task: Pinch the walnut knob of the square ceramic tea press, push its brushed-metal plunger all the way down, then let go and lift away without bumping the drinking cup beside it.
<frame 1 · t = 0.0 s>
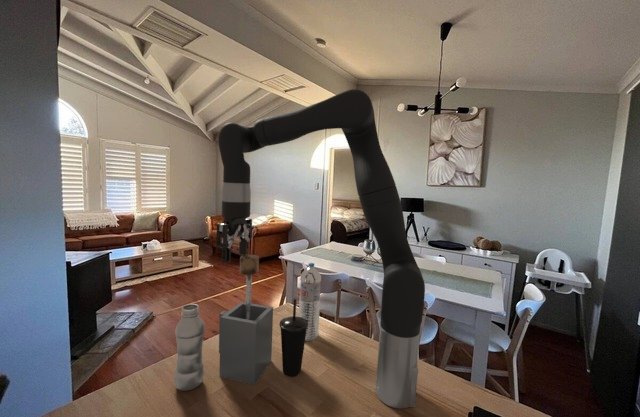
hand: (235, 258, 78), 29 cm above the counter, fingers open, 8 cm apart
plastic bottle: (189, 386, 69), on the counter
plunger: (248, 294, 74), point 21 cm above the counter, slide at 0.0 cm
water bottle: (307, 337, 94), on the counter
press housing: (246, 368, 76), on the counter
drinking cup: (291, 371, 76), on the counter
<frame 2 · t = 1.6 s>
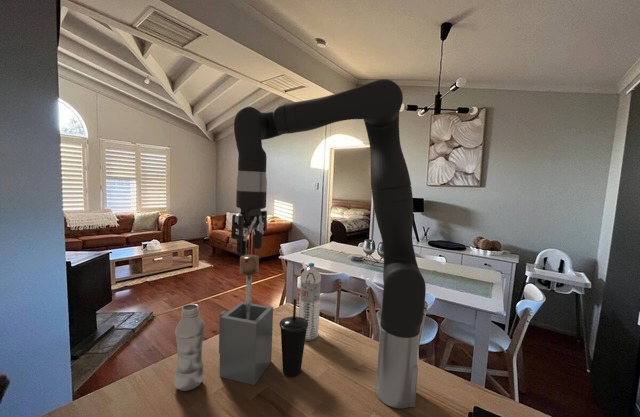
hand: (250, 251, 73), 32 cm above the counter, fingers open, 8 cm apart
nothing on the counter moved.
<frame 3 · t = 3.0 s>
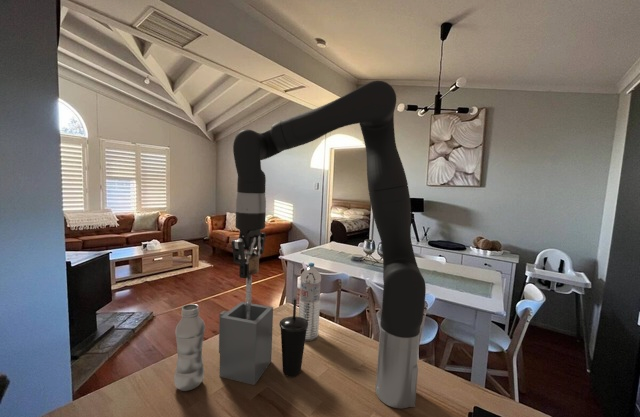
hand: (249, 274, 74), 26 cm above the counter, fingers closed on plunger, 4 cm apart
plunger: (248, 294, 74), point 21 cm above the counter, slide at 0.0 cm, touching gripper
everything else where it was.
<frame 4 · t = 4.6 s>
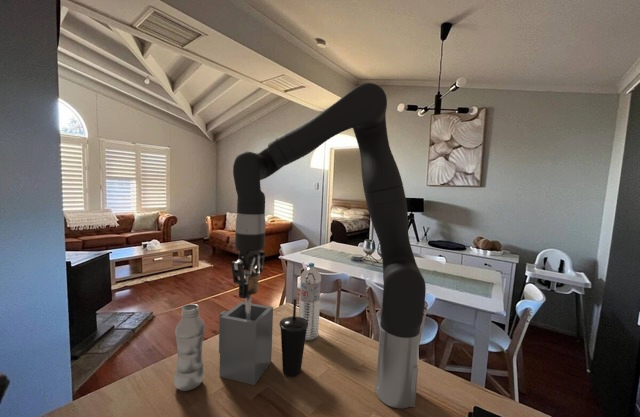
hand: (248, 293, 74), 21 cm above the counter, fingers closed on plunger, 4 cm apart
plunger: (248, 313, 75), point 16 cm above the counter, slide at 5.3 cm, touching gripper
everything else where it was.
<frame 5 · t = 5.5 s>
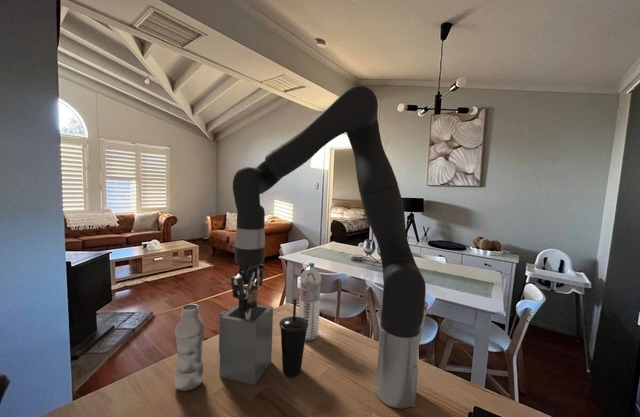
hand: (248, 307, 75), 17 cm above the counter, fingers closed on plunger, 4 cm apart
plunger: (247, 327, 75), point 12 cm above the counter, slide at 9.0 cm, touching gripper
everything else where it was.
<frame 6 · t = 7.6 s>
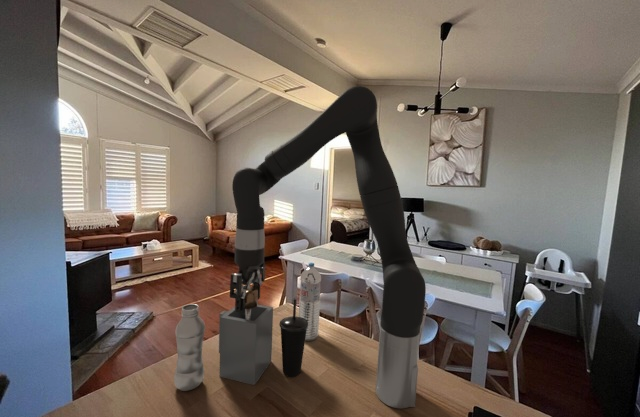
hand: (248, 305, 75), 18 cm above the counter, fingers open, 8 cm apart
plunger: (247, 327, 75), point 12 cm above the counter, slide at 9.1 cm
everything else where it was.
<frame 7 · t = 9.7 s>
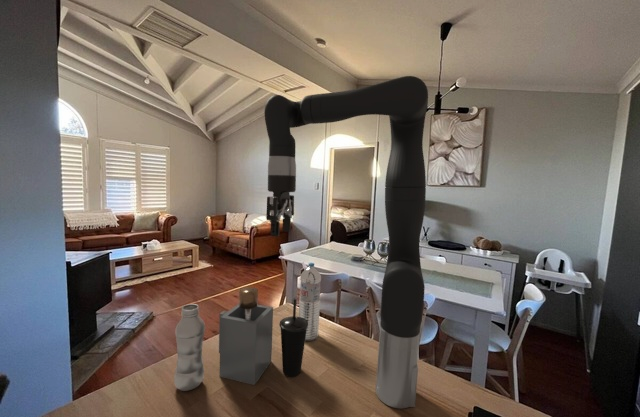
hand: (281, 233, 77), 37 cm above the counter, fingers open, 8 cm apart
nothing on the counter moved.
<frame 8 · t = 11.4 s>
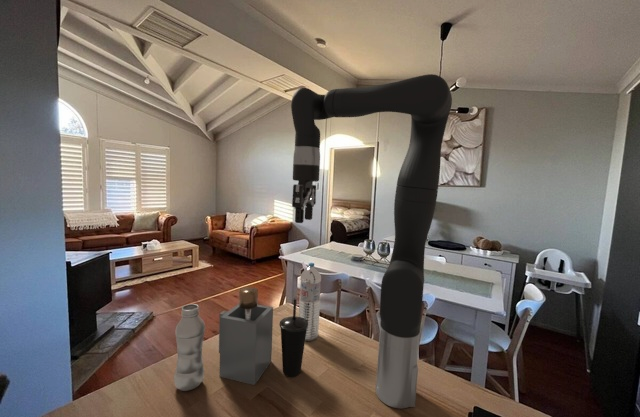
hand: (304, 221, 81), 40 cm above the counter, fingers open, 8 cm apart
nothing on the counter moved.
at the end: plunger slide at 9.1 cm; the gripper is holding nothing; drinking cup moved 0.2 cm from its start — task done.
